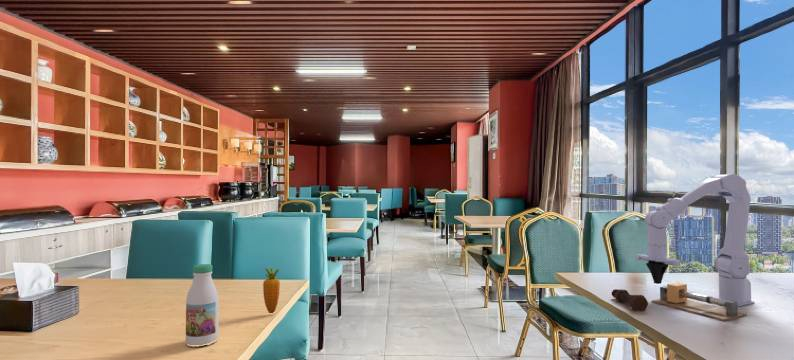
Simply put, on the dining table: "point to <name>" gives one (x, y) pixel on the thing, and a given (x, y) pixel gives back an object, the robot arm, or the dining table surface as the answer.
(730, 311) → the rail
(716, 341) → the dining table surface
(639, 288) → the dining table surface
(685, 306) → the board
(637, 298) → the bolt
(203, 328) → the milk bottle
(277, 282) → the carrot
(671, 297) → the collar
